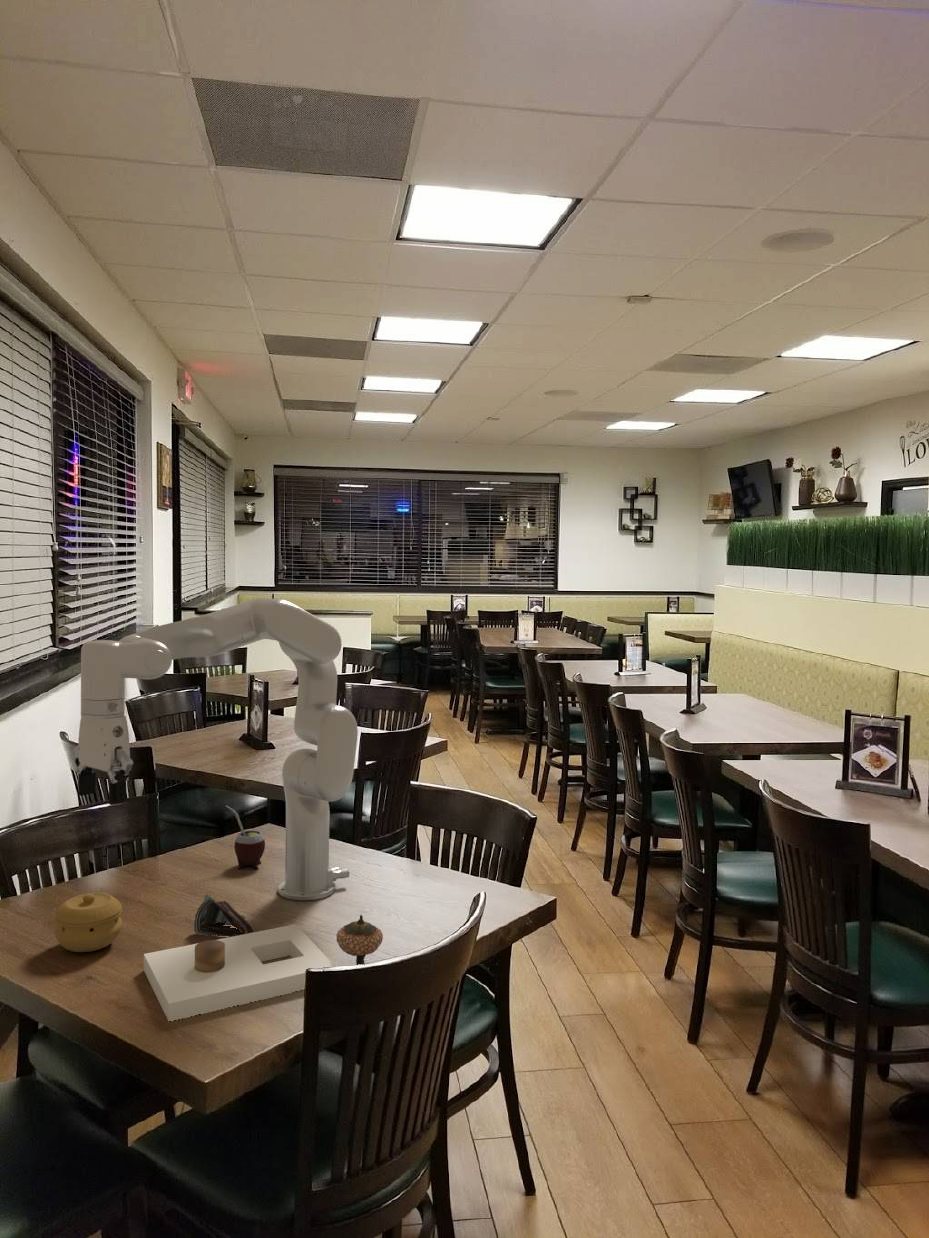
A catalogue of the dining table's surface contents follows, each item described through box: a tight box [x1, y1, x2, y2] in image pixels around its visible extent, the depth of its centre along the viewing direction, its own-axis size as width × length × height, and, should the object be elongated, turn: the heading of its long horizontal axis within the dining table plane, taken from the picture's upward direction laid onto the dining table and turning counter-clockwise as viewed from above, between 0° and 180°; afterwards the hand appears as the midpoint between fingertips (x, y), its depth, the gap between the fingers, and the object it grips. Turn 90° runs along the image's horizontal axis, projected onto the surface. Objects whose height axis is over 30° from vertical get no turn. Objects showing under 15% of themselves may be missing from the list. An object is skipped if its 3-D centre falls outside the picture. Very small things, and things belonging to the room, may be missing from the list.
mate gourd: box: [225, 805, 266, 871], centre depth 210 cm, size 8×8×15 cm
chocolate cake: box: [193, 894, 254, 937], centre depth 174 cm, size 10×7×12 cm
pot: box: [53, 892, 123, 953], centre depth 165 cm, size 12×12×10 cm
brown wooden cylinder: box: [195, 939, 225, 973], centre depth 152 cm, size 5×5×4 cm
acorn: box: [335, 914, 384, 966], centre depth 159 cm, size 8×8×10 cm
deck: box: [143, 924, 335, 1022], centre depth 155 cm, size 28×20×3 cm
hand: (102, 798), depth 164 cm, fingers open, 9 cm apart
